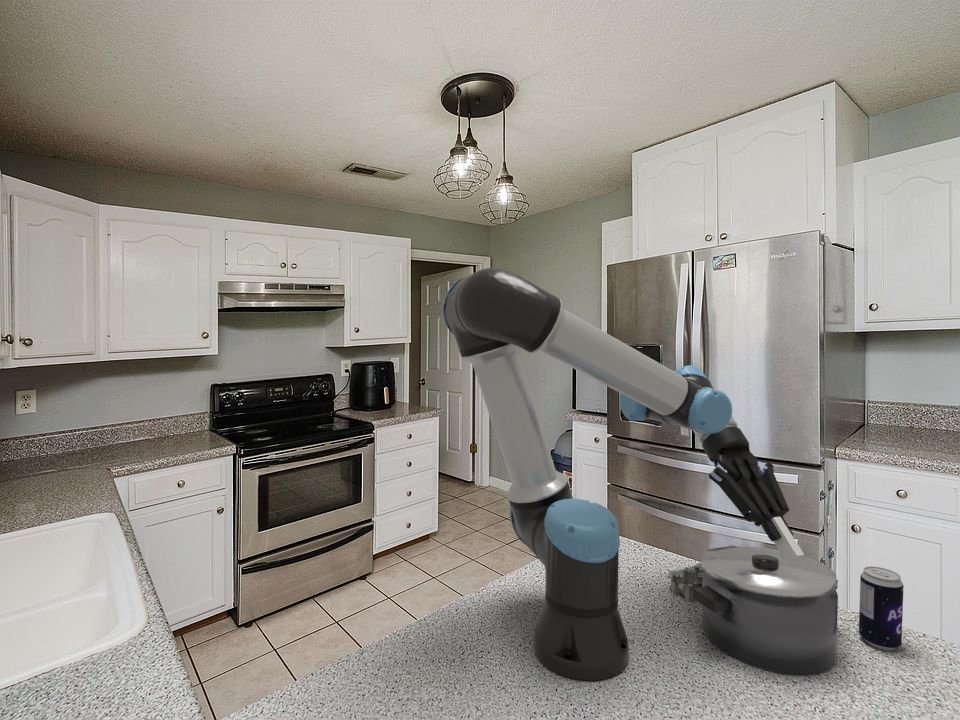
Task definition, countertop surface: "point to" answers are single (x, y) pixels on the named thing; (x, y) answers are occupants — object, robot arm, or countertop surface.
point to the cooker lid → (768, 572)
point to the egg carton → (686, 580)
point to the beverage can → (881, 608)
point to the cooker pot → (770, 628)
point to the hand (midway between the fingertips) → (795, 558)
